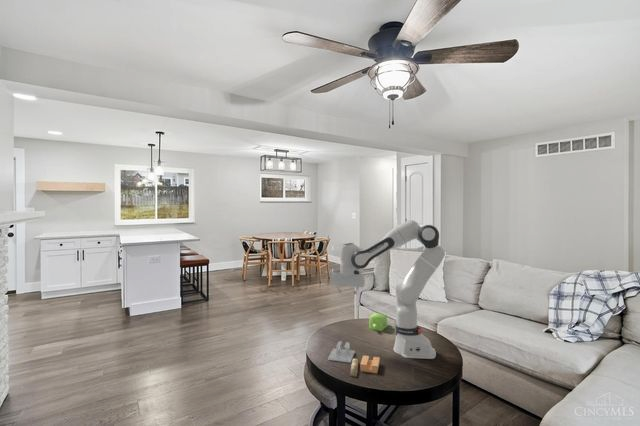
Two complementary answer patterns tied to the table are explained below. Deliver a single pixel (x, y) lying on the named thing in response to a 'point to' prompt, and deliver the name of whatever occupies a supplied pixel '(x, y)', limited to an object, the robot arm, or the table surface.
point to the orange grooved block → (370, 364)
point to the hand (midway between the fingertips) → (347, 293)
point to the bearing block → (342, 353)
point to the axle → (354, 367)
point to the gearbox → (377, 321)
